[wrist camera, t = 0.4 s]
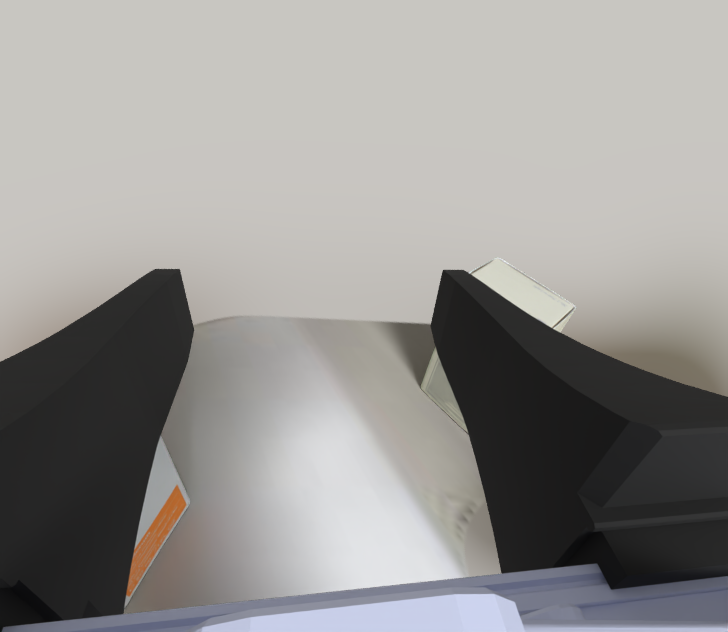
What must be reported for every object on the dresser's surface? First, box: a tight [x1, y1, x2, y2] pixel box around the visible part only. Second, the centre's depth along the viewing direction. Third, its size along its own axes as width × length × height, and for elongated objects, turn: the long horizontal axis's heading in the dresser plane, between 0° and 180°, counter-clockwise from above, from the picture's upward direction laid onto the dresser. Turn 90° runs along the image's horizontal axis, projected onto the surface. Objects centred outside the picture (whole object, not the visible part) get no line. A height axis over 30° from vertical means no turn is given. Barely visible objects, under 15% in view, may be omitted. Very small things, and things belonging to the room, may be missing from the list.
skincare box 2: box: [421, 257, 576, 433], centre depth 29 cm, size 6×4×12 cm
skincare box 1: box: [124, 436, 190, 608], centre depth 19 cm, size 6×4×12 cm
